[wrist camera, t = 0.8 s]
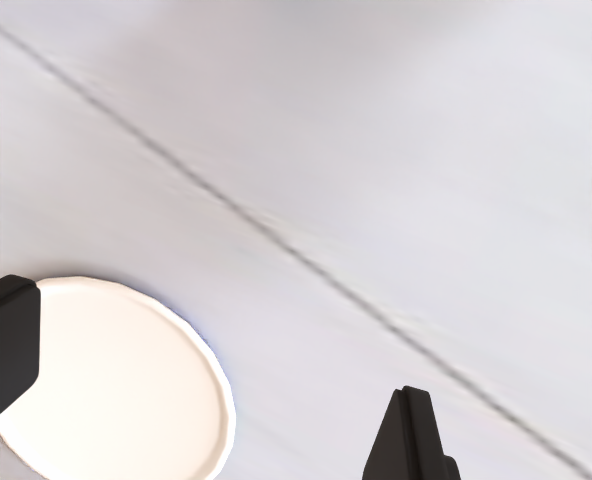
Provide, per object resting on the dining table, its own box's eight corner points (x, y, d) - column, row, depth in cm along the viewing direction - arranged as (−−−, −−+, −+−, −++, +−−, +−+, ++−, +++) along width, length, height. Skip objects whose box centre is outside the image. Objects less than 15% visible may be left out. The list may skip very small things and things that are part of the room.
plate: (-63, 380, 49) (-73, 387, 48) (76, 212, 40) (68, 215, 38) (129, 536, 53) (124, 546, 52) (296, 416, 44) (294, 425, 42)
